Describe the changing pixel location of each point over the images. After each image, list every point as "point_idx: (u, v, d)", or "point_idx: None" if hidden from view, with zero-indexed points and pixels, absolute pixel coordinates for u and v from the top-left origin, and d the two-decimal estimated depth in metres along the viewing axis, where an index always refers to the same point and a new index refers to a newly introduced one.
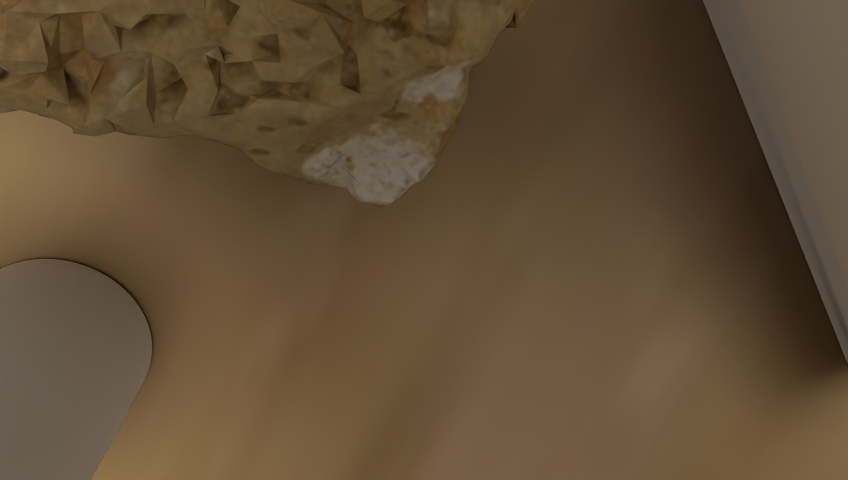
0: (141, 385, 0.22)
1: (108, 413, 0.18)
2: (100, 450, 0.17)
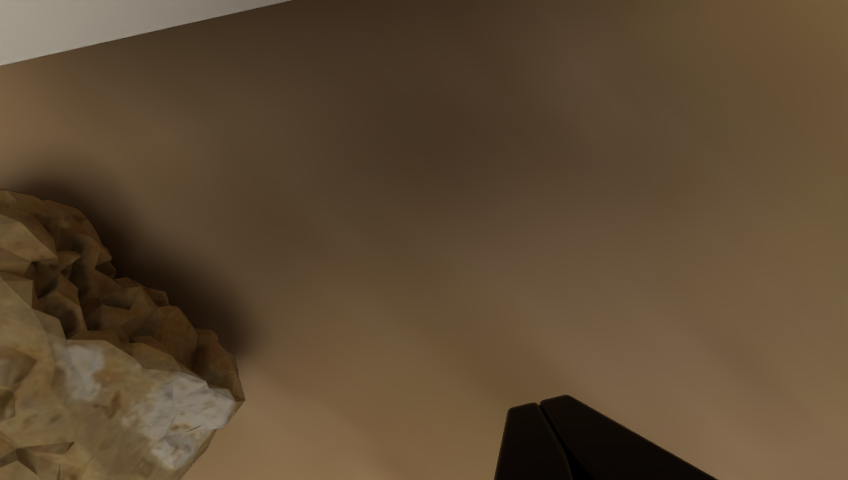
0: None
1: None
2: None
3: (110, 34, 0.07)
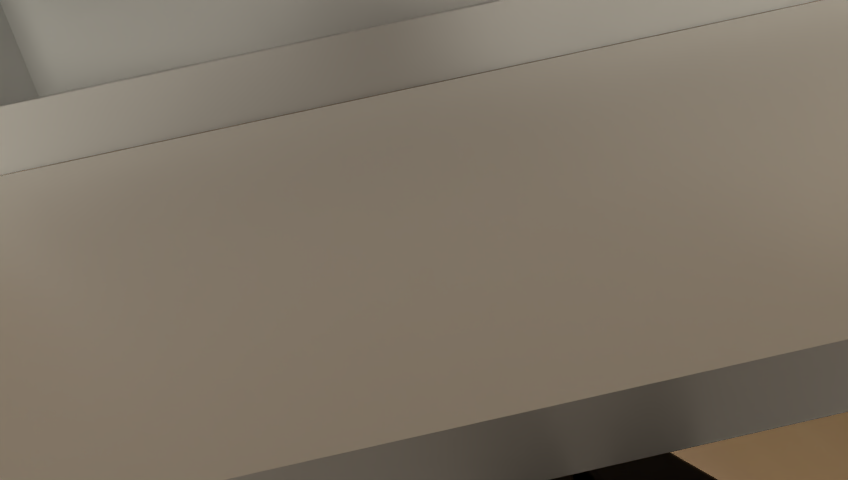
0: None
1: None
2: None
3: None
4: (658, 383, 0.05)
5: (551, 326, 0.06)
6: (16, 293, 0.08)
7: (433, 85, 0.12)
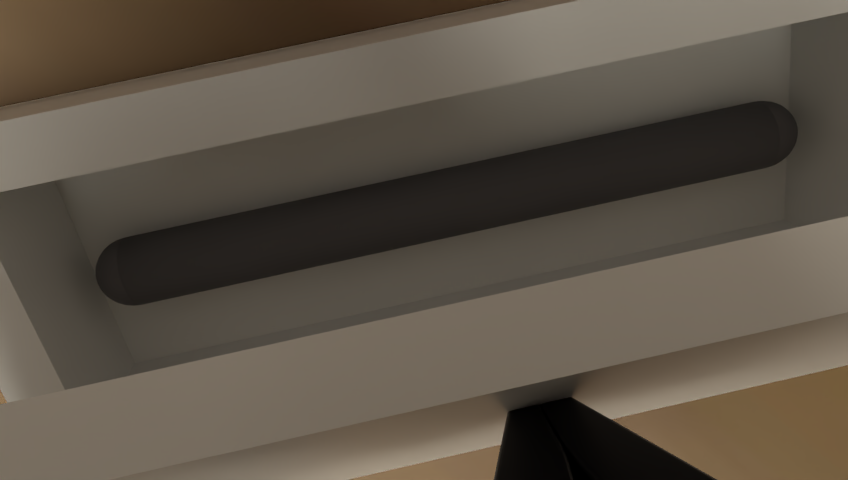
0: None
1: None
2: None
3: (204, 453, 0.06)
4: (583, 278, 0.07)
5: None
6: None
7: None
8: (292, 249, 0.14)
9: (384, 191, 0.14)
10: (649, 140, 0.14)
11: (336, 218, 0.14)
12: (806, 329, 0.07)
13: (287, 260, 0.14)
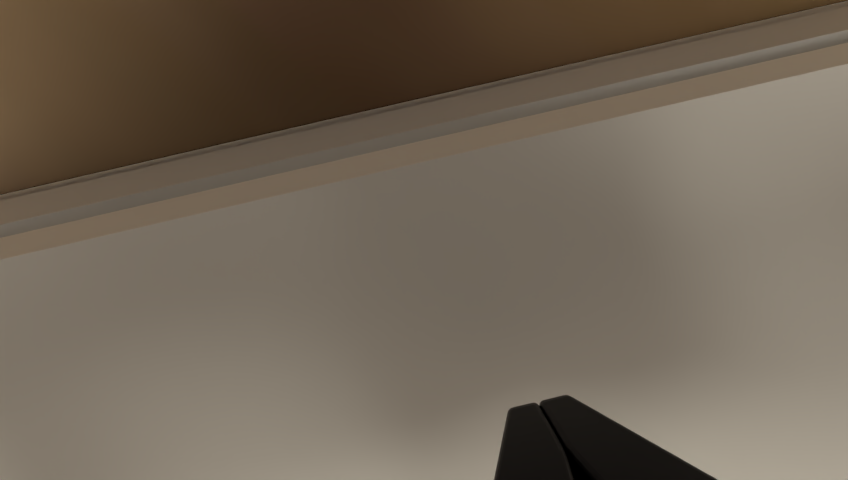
0: None
1: None
2: None
3: (215, 211, 0.08)
4: (507, 121, 0.09)
5: None
6: None
7: None
8: None
9: None
10: None
11: None
12: (694, 137, 0.09)
13: None
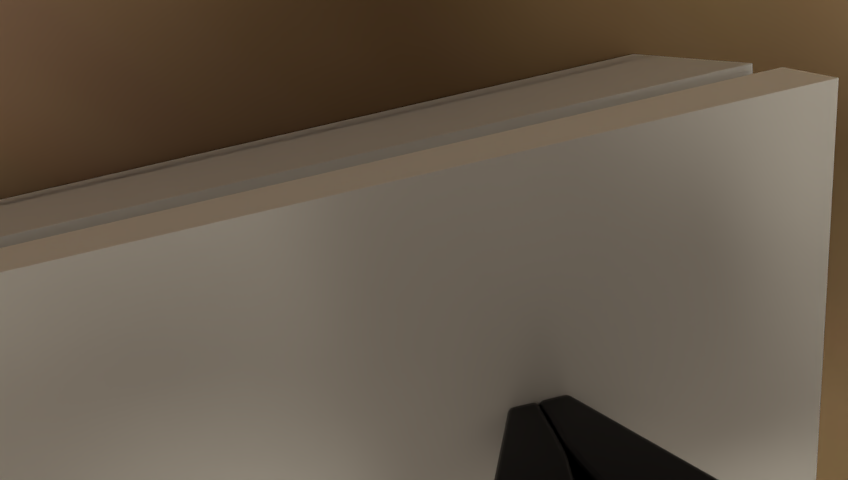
0: None
1: None
2: None
3: None
4: None
5: None
6: None
7: None
8: None
9: None
10: None
11: None
12: (237, 264, 0.07)
13: None
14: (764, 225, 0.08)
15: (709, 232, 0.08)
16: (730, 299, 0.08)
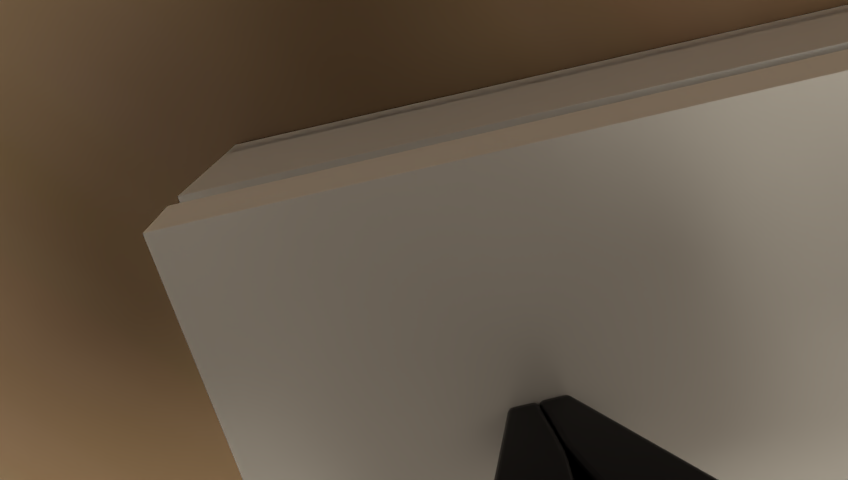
0: None
1: None
2: None
3: (689, 108, 0.07)
4: None
5: None
6: None
7: None
8: None
9: None
10: None
11: None
12: None
13: None
14: None
15: None
16: None
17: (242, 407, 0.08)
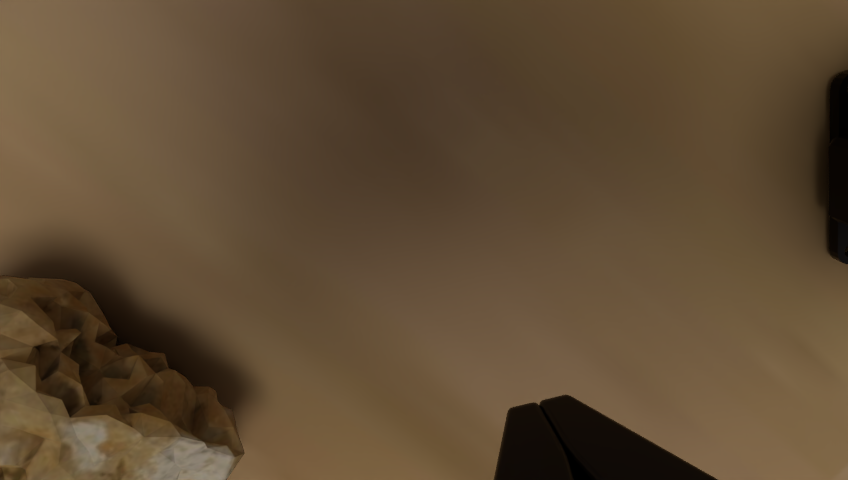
0: None
1: None
2: None
3: None
4: None
5: None
6: None
7: None
8: None
9: None
10: None
11: None
12: None
13: None
14: None
15: None
16: None
17: None
